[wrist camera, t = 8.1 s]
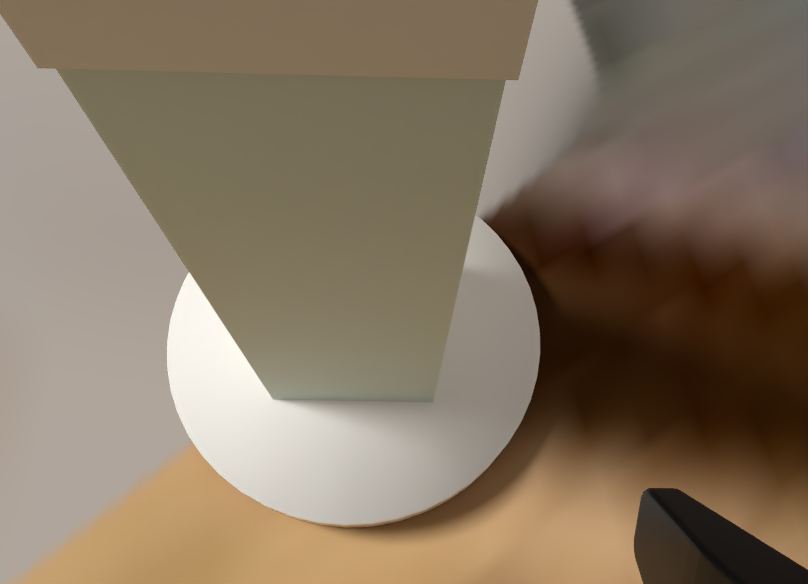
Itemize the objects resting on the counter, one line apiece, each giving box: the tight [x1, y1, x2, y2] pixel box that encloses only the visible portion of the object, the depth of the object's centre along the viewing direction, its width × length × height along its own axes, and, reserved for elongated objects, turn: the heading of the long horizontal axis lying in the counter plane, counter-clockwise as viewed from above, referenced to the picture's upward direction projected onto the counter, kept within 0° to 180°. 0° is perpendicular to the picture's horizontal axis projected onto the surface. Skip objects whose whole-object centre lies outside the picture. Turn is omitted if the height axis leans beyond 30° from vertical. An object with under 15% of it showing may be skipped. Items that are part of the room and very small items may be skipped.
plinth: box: [167, 215, 540, 528], centre depth 18 cm, size 11×11×1 cm
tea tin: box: [0, 0, 538, 402], centre depth 12 cm, size 5×5×13 cm
